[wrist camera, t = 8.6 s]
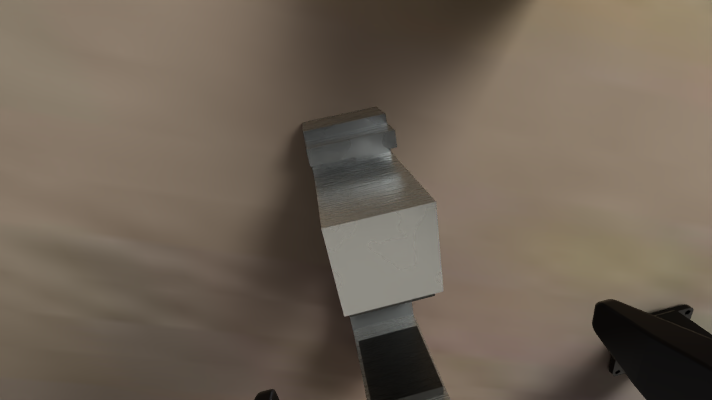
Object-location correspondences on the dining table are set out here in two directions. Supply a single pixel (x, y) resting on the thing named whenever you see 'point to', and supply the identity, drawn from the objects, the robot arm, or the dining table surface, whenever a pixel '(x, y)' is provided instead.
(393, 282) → the block
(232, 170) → the dining table surface
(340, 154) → the rail
